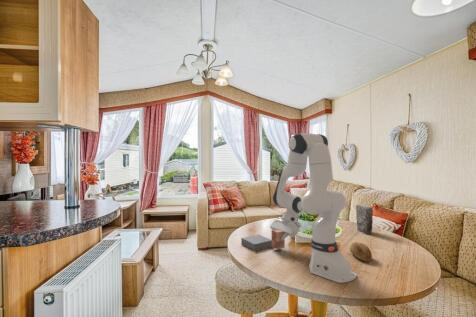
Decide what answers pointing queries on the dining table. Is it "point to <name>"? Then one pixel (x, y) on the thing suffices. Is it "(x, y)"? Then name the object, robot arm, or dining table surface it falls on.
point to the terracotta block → (277, 239)
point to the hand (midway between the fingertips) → (277, 238)
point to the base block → (256, 242)
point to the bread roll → (361, 251)
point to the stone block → (364, 218)
